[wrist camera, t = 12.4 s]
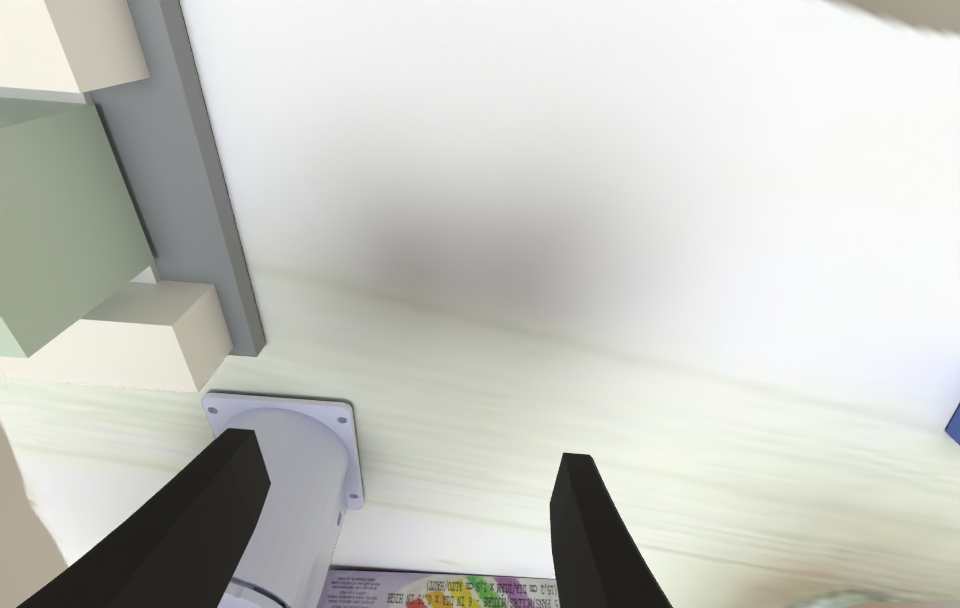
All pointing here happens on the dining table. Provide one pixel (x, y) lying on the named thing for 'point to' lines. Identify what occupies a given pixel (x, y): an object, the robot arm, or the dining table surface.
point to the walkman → (955, 427)
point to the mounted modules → (136, 306)
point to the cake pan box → (434, 591)
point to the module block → (60, 221)
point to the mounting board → (173, 169)
